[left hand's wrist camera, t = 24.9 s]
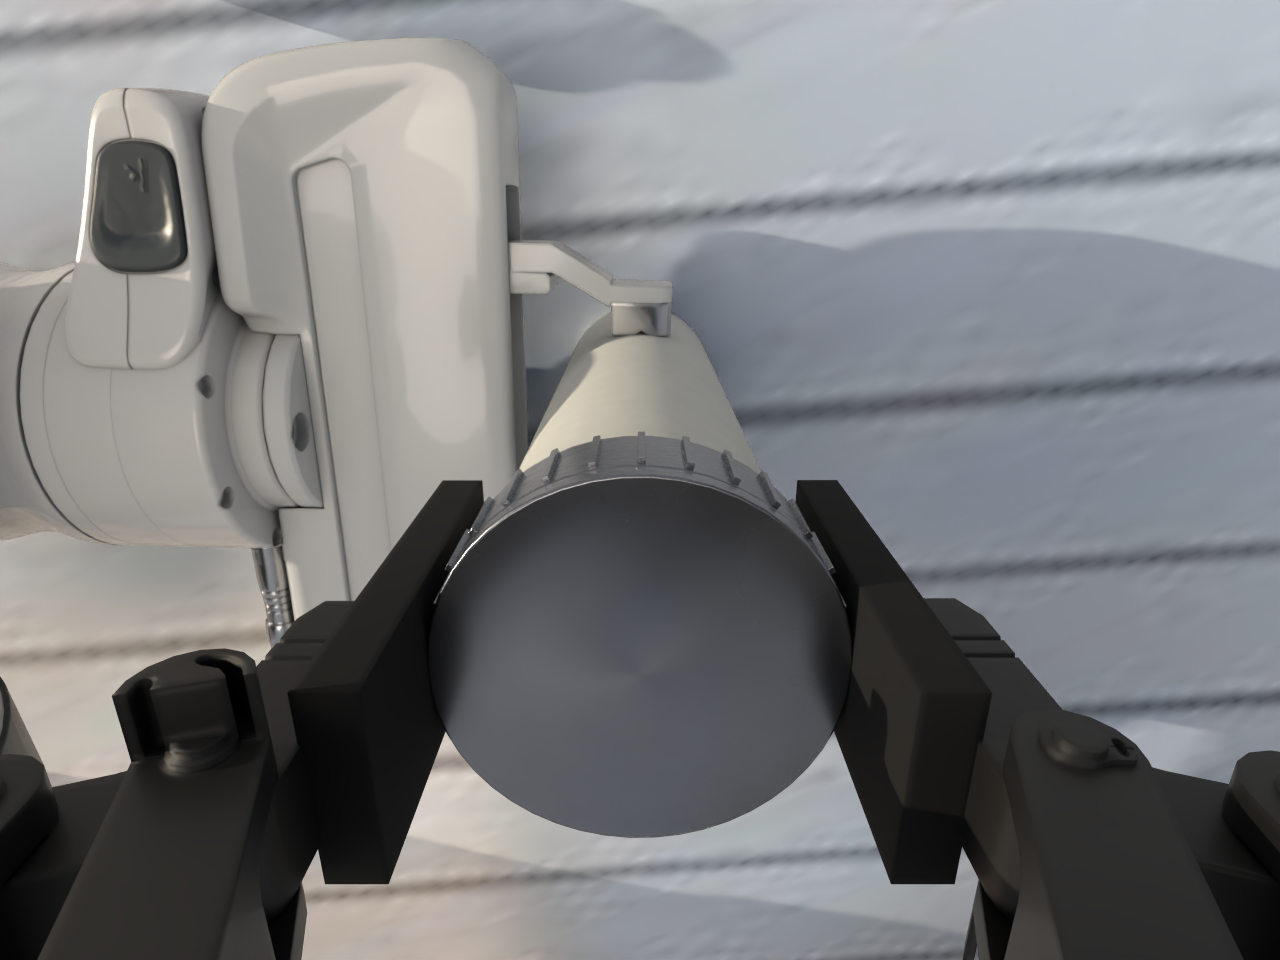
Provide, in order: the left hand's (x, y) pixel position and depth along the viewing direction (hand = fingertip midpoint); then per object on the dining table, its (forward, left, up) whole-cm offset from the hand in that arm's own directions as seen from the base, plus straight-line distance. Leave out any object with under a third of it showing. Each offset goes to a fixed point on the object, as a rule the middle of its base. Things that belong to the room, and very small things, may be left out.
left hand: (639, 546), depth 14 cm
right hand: (0, -1, -9) cm, 10 cm away
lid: (0, 0, +4) cm, 4 cm away
